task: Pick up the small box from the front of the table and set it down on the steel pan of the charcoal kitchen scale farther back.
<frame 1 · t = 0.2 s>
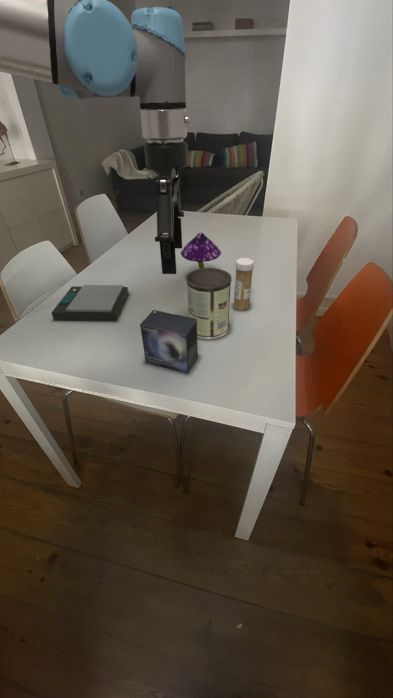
hand: (173, 259, 68), 19 cm above the table, tool pointing down, fingers open, 13 cm apart
coffee can: (208, 328, 81), on the table
decorative mushroom: (201, 279, 103), on the table
scale: (93, 306, 90), on the table
sprinkles bottle: (241, 307, 89), on the table
small box: (171, 360, 71), on the table
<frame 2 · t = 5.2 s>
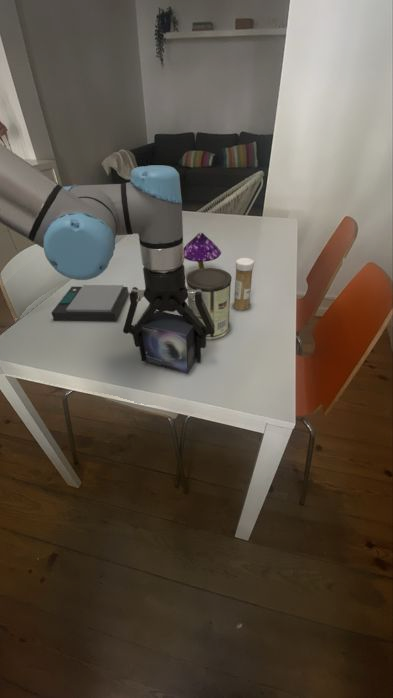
hand: (171, 357, 71), 1 cm above the table, tool pointing down, fingers closed on small box, 11 cm apart
small box: (171, 360, 71), on the table, touching gripper
everything else where it was.
when the fingers open (4 cm above the table, at t = 13.3 s): small box stays where it is, resting on scale.
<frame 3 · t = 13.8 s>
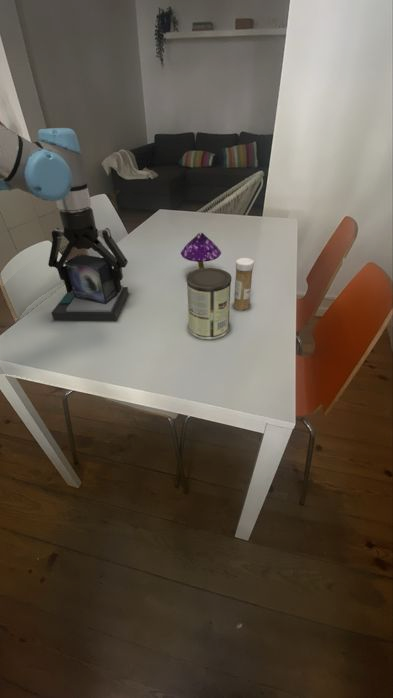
hand: (94, 290, 87), 5 cm above the table, tool pointing down, fingers open, 13 cm apart
small box: (96, 296, 89), point 3 cm above the table, touching scale
everything else where it was.
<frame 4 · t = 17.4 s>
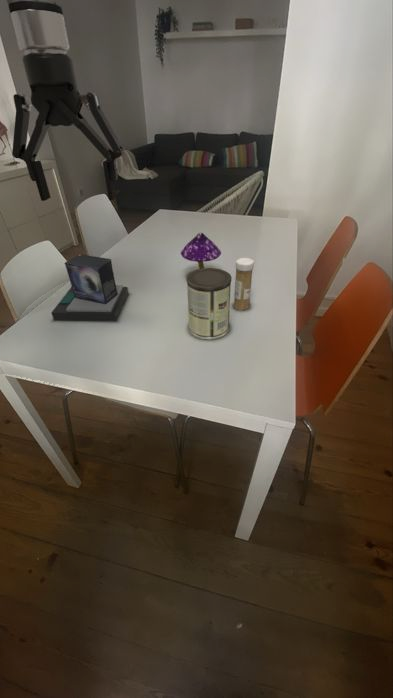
hand: (79, 199, 63), 31 cm above the table, tool pointing down, fingers open, 13 cm apart
nothing on the table moved.
at the end: small box 0.0 cm from the target spot on the scale, point 3.1 cm above the scale's base; small box tilted 0°; the gripper is holding nothing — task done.
